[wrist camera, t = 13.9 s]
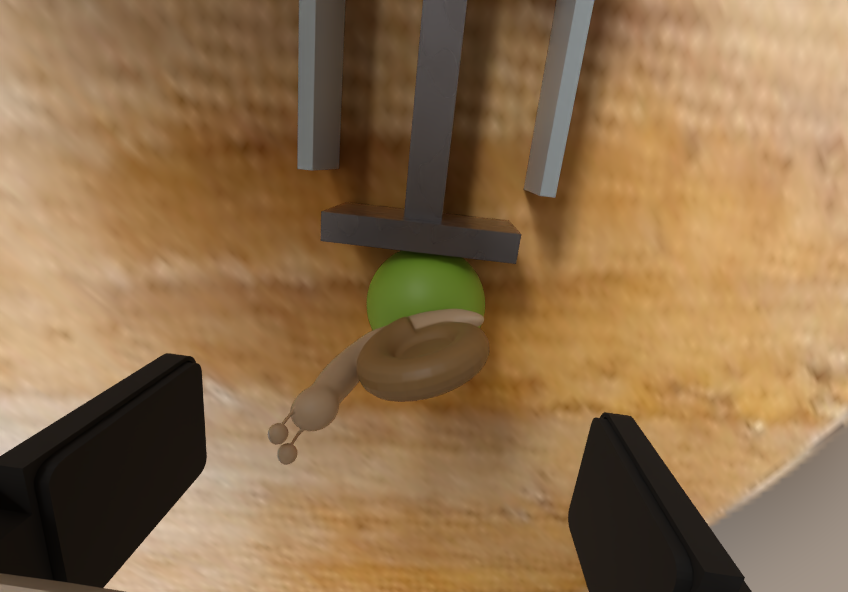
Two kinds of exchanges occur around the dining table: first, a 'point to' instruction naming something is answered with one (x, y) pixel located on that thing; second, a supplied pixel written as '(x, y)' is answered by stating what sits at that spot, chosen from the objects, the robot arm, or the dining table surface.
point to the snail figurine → (402, 342)
